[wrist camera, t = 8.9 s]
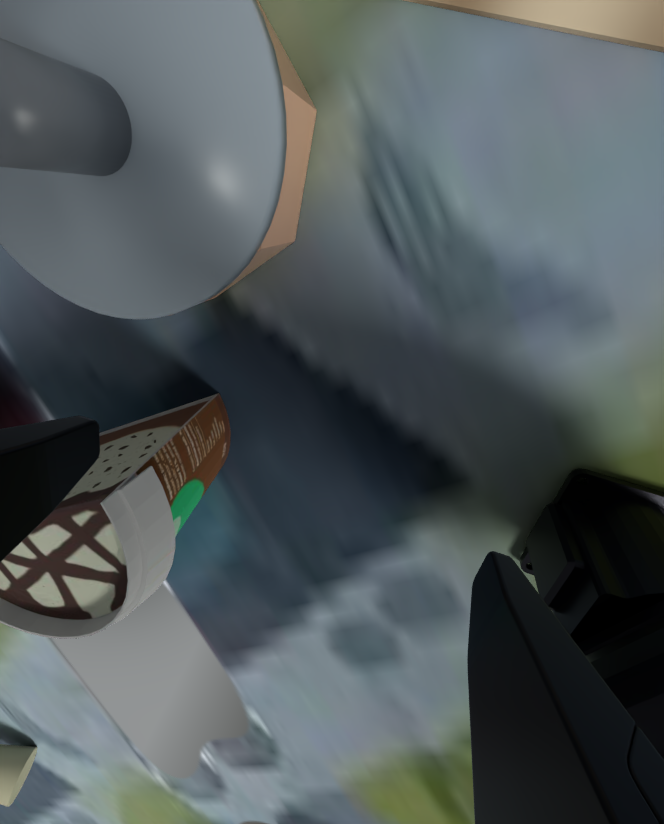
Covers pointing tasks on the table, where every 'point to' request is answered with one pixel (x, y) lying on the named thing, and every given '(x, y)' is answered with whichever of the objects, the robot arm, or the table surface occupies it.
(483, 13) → the mat
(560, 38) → the table surface
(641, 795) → the robot arm
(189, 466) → the food container
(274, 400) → the table surface
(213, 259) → the lid
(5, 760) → the flower vase
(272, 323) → the table surface
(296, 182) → the bowl
